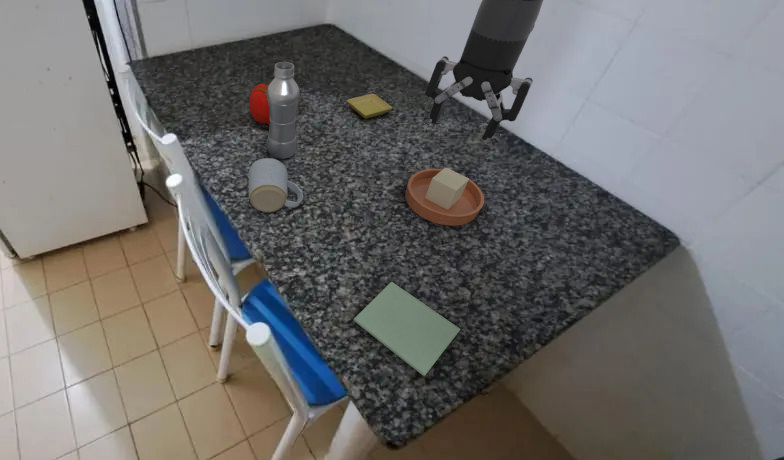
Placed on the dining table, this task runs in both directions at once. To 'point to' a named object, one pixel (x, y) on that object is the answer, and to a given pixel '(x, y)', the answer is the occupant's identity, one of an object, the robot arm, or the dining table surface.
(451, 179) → the block
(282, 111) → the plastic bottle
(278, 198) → the ceramic mug
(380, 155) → the dining table surface
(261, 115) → the tomato
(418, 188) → the terracotta dish
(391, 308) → the mat
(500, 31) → the robot arm
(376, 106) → the saucer
